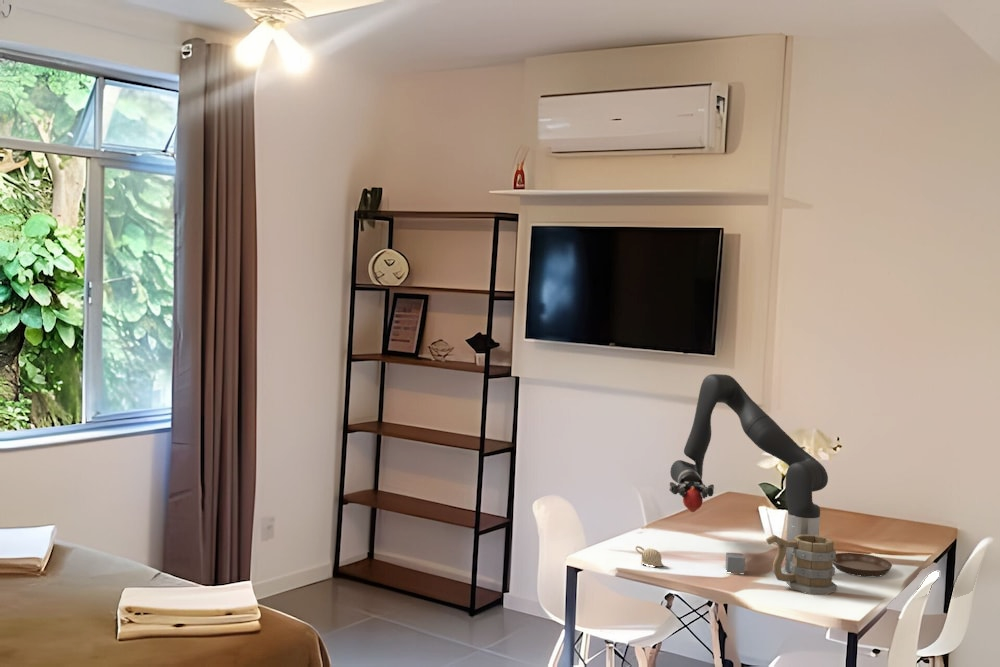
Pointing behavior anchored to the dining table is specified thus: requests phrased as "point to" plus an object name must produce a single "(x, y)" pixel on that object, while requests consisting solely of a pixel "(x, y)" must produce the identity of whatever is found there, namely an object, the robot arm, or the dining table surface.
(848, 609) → the dining table surface
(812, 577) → the tankard
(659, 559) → the decorative ornament
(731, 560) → the grey block
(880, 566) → the plant saucer
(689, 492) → the red squash
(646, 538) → the dining table surface
